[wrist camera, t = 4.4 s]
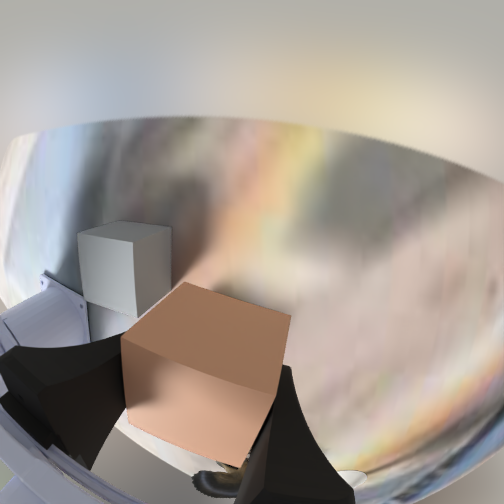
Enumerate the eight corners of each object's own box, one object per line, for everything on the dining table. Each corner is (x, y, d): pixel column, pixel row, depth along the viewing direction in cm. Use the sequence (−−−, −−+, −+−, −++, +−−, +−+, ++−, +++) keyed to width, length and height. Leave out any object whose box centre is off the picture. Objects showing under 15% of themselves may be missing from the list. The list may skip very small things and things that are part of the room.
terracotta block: (262, 392, 13) (240, 468, 8) (174, 361, 14) (128, 423, 9) (290, 315, 12) (275, 395, 7) (184, 281, 12) (120, 336, 8)
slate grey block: (171, 289, 21) (137, 318, 16) (122, 277, 22) (84, 300, 17) (172, 226, 20) (132, 242, 15) (119, 220, 20) (76, 232, 16)
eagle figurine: (241, 437, 23) (183, 460, 24) (264, 497, 17) (197, 512, 18) (279, 440, 27) (225, 462, 29) (300, 487, 22) (240, 506, 23)
